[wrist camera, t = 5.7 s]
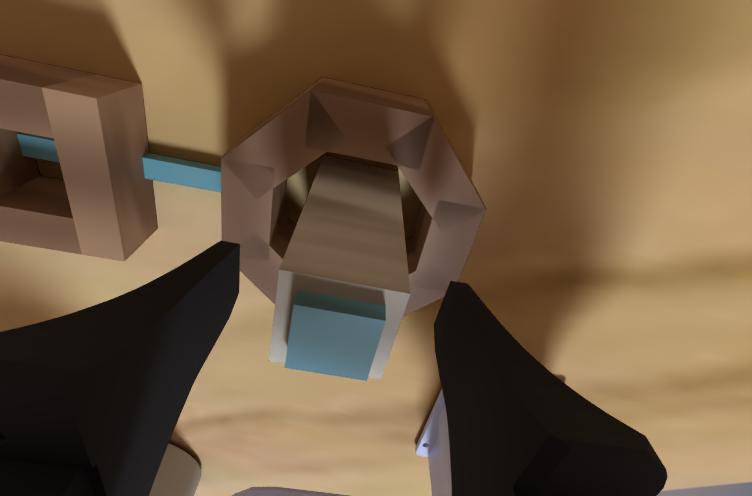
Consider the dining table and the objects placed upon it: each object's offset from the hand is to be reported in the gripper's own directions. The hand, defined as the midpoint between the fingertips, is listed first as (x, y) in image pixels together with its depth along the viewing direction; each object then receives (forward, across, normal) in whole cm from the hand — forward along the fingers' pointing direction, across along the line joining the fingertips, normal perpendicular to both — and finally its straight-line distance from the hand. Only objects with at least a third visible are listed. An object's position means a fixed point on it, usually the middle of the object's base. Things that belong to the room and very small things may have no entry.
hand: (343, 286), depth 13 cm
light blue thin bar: (+6, +12, 0) cm, 13 cm away
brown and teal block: (+7, 0, 0) cm, 7 cm away
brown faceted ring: (+7, 0, 0) cm, 7 cm away
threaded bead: (+6, +13, 0) cm, 15 cm away
